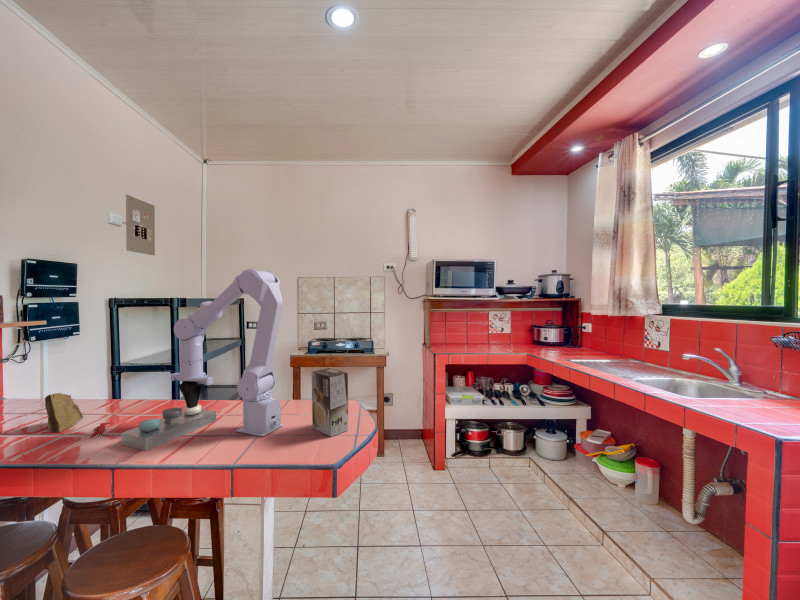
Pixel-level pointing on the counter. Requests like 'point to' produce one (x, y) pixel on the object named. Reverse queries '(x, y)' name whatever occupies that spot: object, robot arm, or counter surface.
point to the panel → (167, 430)
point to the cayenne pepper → (100, 429)
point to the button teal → (149, 425)
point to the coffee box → (330, 401)
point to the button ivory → (192, 410)
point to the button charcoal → (172, 415)
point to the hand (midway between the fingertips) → (192, 407)
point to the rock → (61, 412)
